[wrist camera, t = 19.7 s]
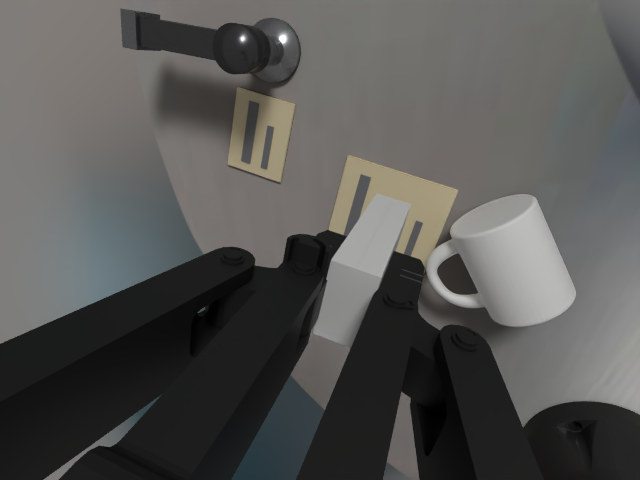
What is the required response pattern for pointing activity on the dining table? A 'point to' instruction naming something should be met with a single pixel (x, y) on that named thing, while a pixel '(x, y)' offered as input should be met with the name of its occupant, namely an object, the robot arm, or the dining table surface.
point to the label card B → (422, 194)
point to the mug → (507, 263)
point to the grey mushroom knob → (279, 50)
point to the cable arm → (198, 41)
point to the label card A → (260, 134)
